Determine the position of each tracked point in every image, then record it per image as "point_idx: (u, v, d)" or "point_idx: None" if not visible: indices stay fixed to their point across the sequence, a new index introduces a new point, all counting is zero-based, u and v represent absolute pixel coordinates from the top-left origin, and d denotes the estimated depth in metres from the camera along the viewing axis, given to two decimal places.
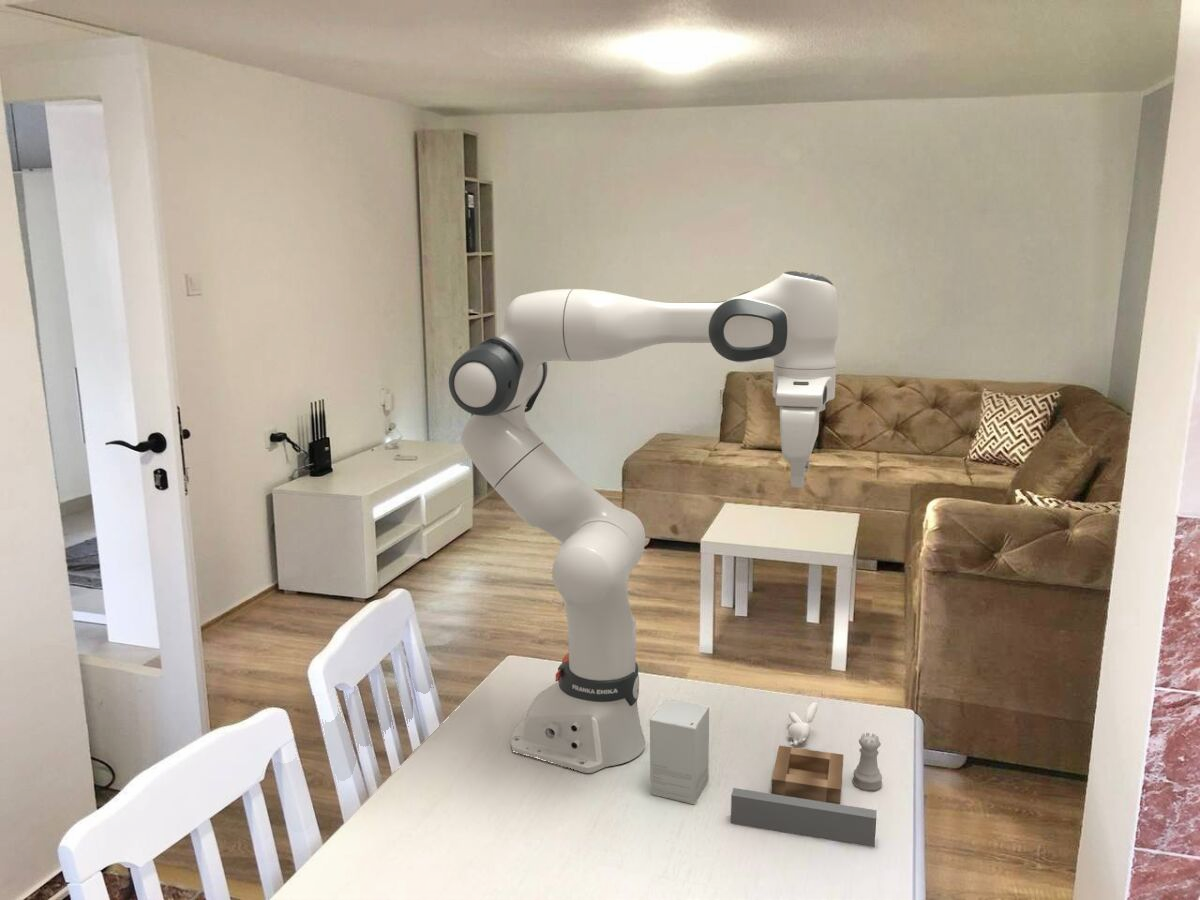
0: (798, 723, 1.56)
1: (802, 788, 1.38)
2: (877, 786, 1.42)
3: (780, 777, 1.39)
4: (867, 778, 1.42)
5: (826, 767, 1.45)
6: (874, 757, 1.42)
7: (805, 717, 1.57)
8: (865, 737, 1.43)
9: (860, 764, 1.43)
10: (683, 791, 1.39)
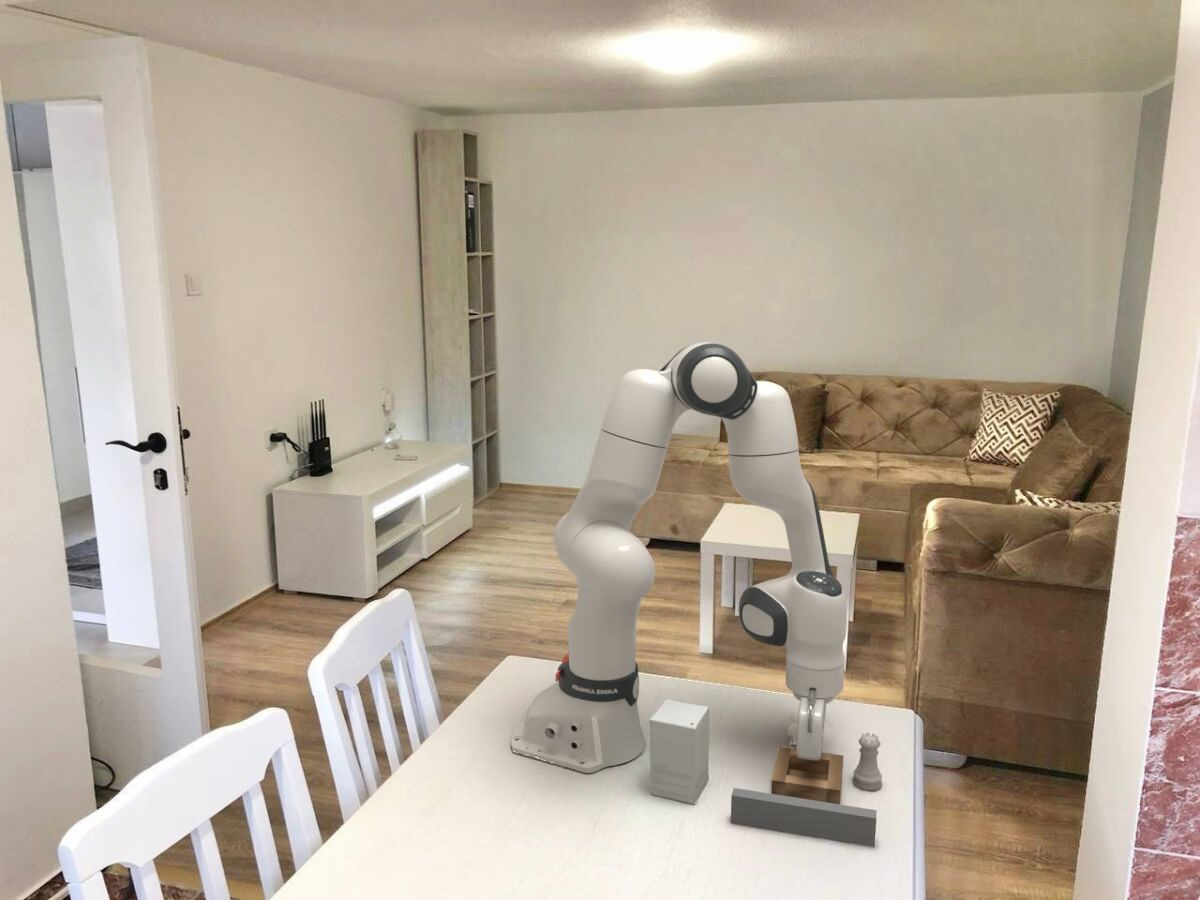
0: None
1: (802, 789, 1.37)
2: (877, 786, 1.42)
3: (780, 778, 1.39)
4: (867, 778, 1.42)
5: (826, 768, 1.44)
6: (874, 757, 1.42)
7: None
8: (865, 737, 1.43)
9: (860, 764, 1.43)
10: (683, 791, 1.39)
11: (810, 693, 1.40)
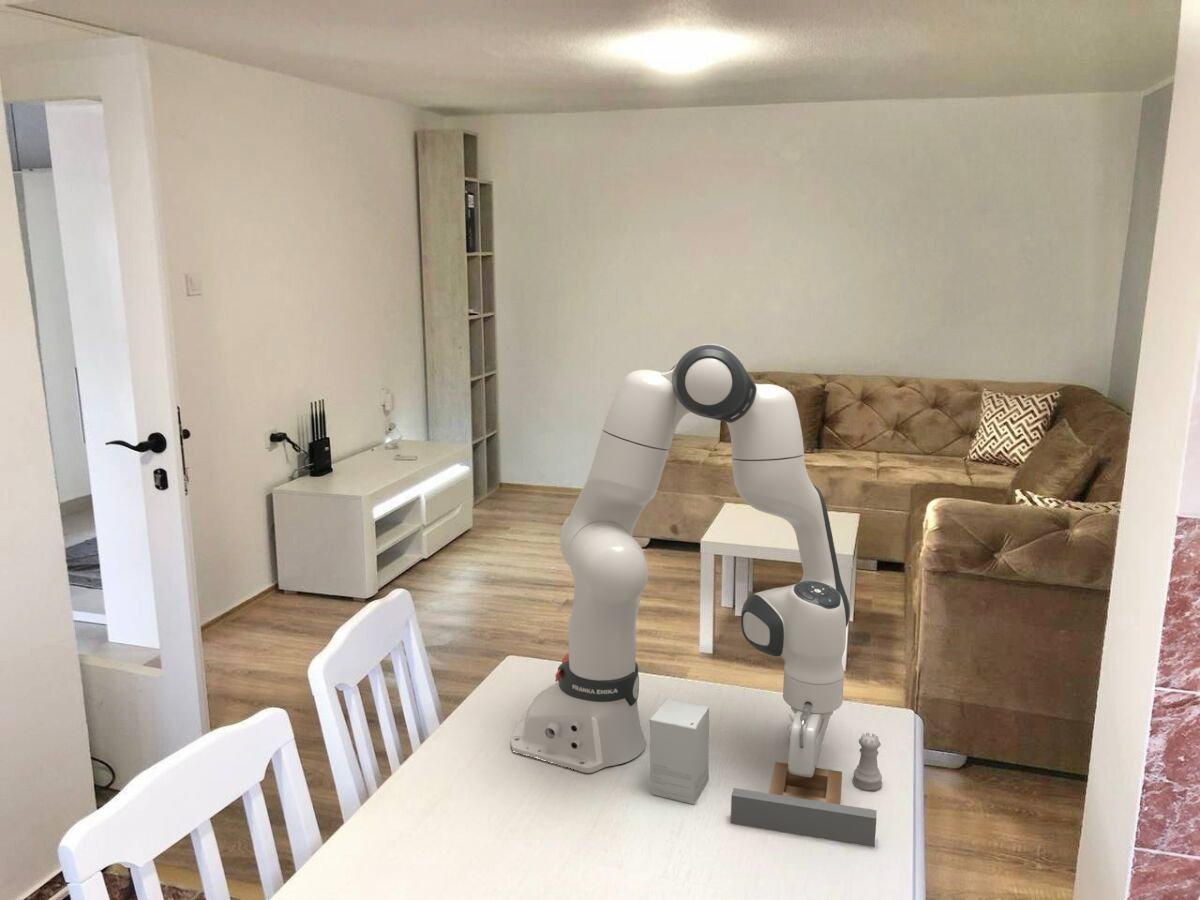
0: None
1: None
2: (877, 786, 1.42)
3: None
4: (867, 778, 1.42)
5: (824, 784, 1.40)
6: (874, 757, 1.42)
7: None
8: (865, 737, 1.43)
9: (860, 764, 1.43)
10: (683, 791, 1.39)
11: (804, 707, 1.35)
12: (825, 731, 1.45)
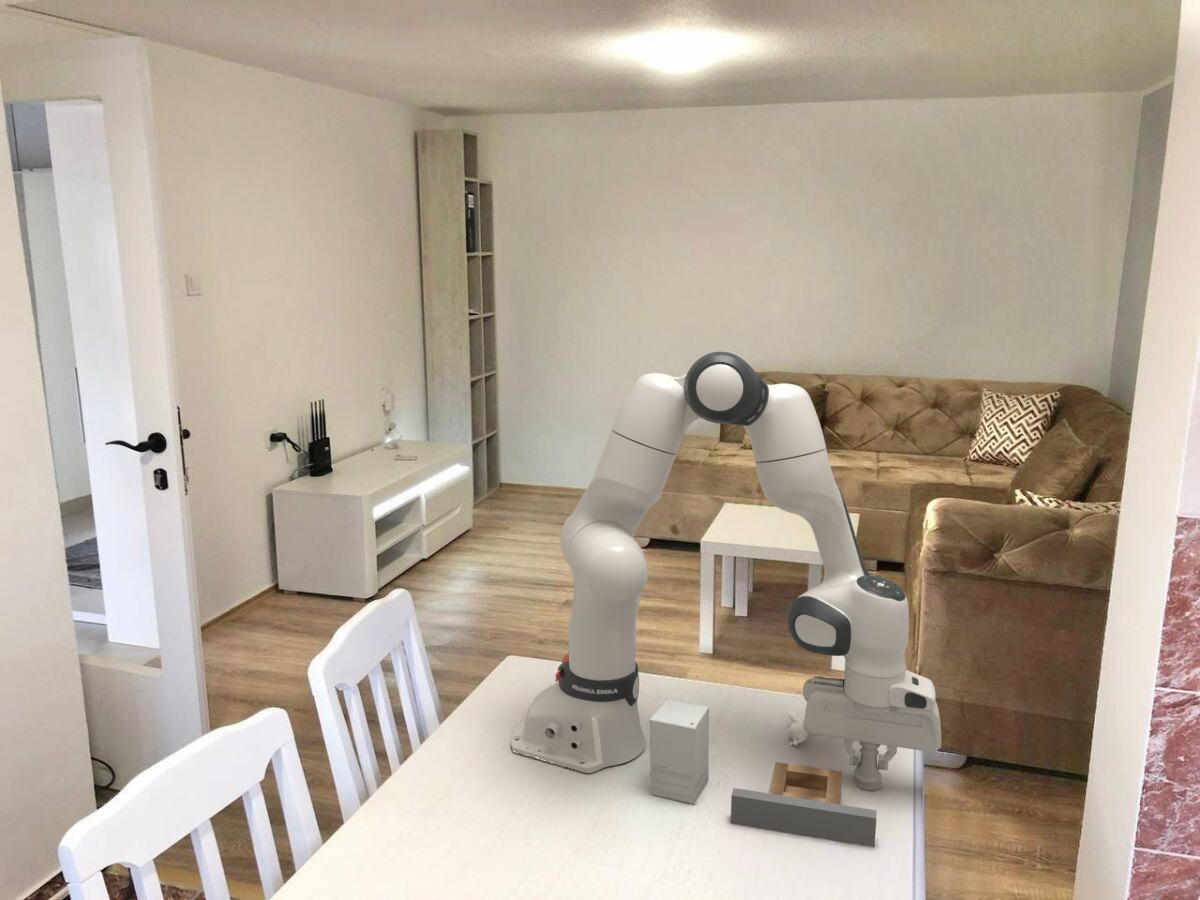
0: (798, 723, 1.56)
1: None
2: (877, 786, 1.42)
3: None
4: (867, 778, 1.42)
5: (824, 784, 1.40)
6: (874, 757, 1.42)
7: None
8: None
9: (860, 764, 1.43)
10: (683, 791, 1.39)
11: (833, 678, 1.43)
12: (891, 741, 1.40)
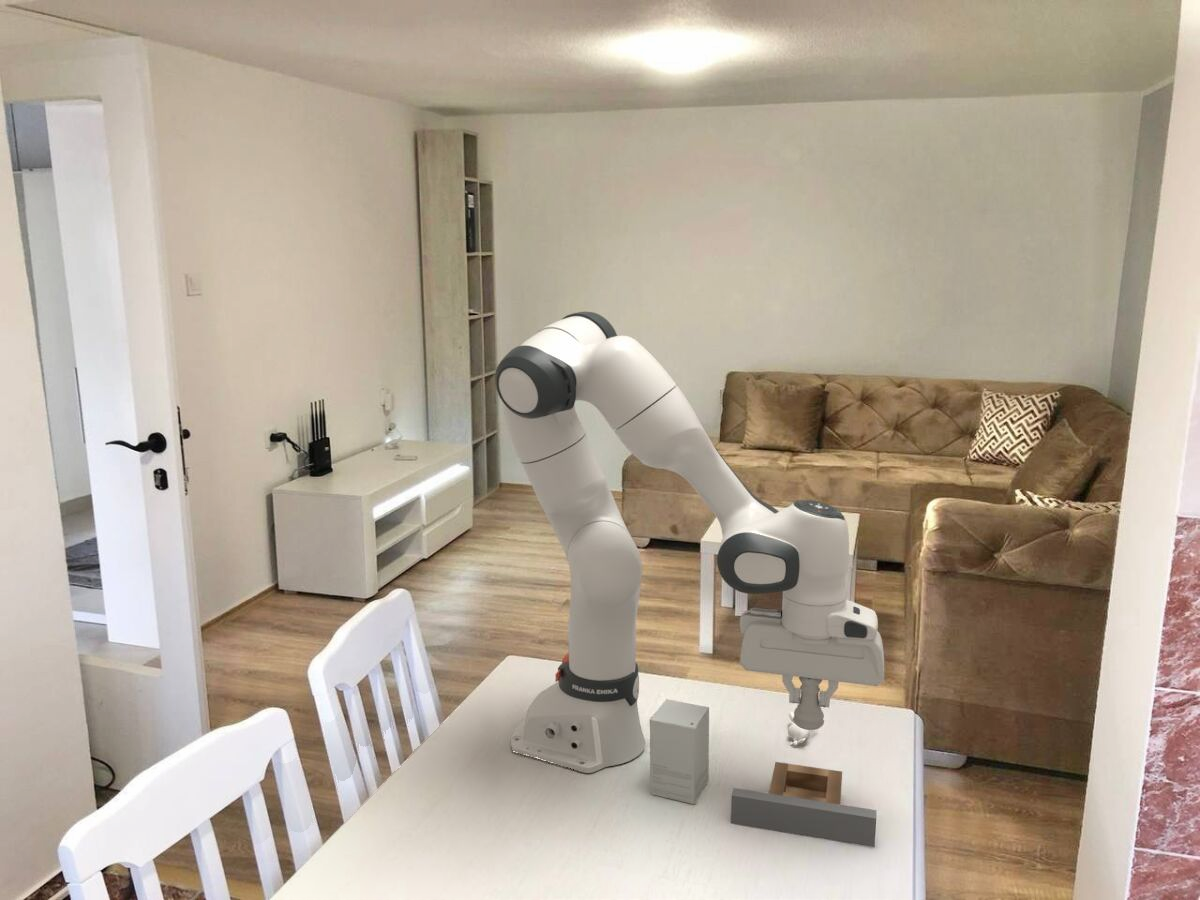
0: None
1: None
2: (818, 725, 1.34)
3: None
4: (807, 716, 1.34)
5: (824, 784, 1.40)
6: (815, 694, 1.33)
7: None
8: None
9: (800, 702, 1.35)
10: (683, 791, 1.39)
11: (770, 609, 1.34)
12: (831, 675, 1.31)
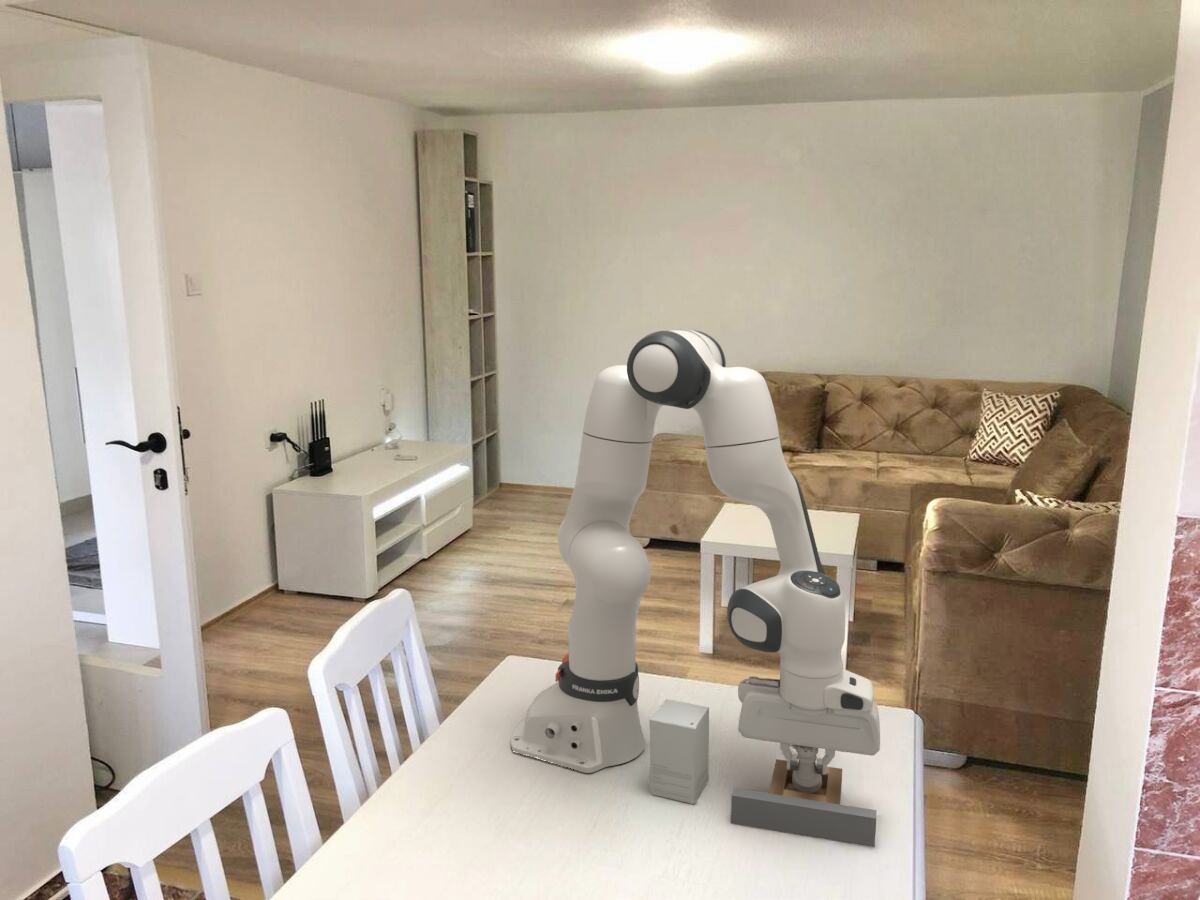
0: None
1: None
2: (816, 789, 1.37)
3: (777, 793, 1.35)
4: (805, 783, 1.37)
5: (824, 782, 1.41)
6: (812, 763, 1.36)
7: None
8: None
9: (798, 768, 1.37)
10: (683, 791, 1.39)
11: (768, 678, 1.36)
12: (828, 744, 1.34)
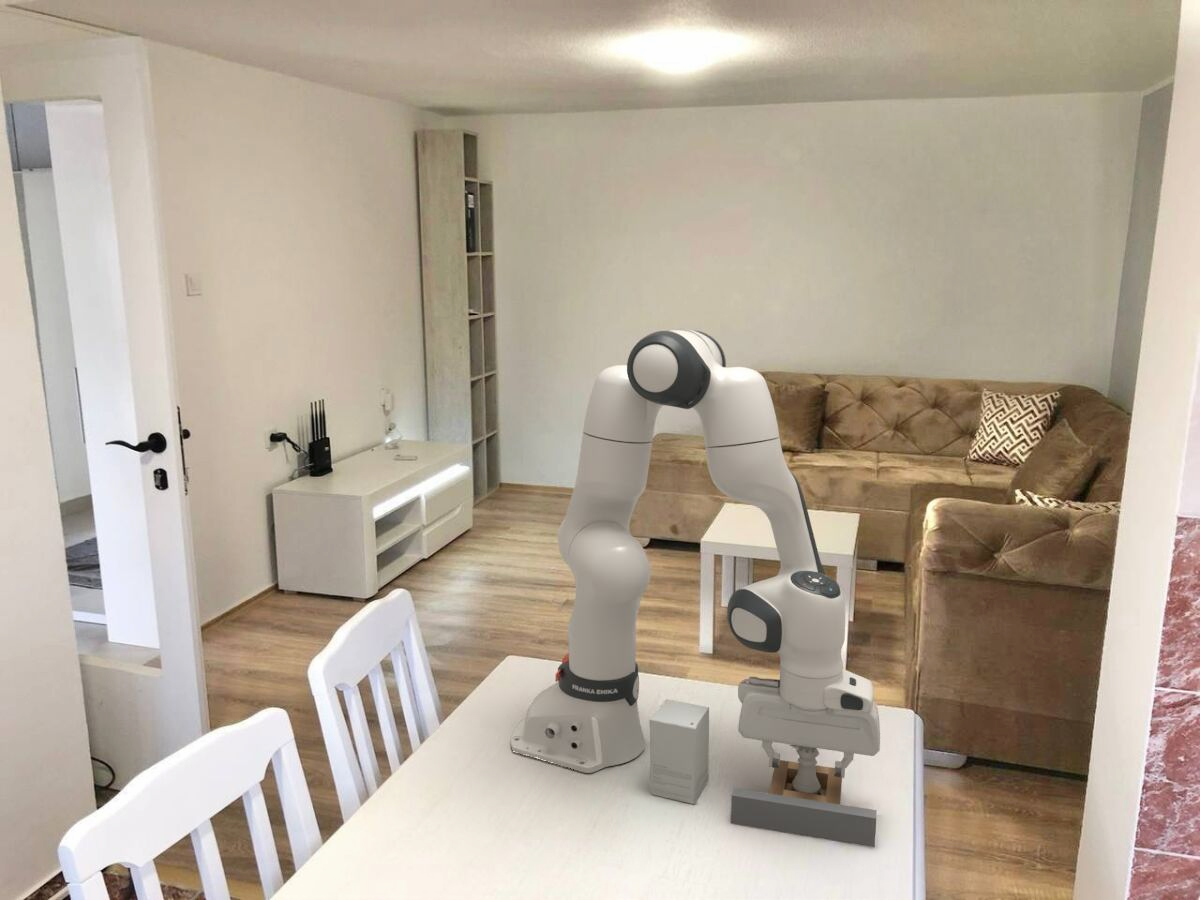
0: None
1: None
2: None
3: (777, 793, 1.35)
4: (805, 789, 1.37)
5: (824, 782, 1.40)
6: (812, 767, 1.37)
7: None
8: (803, 746, 1.38)
9: (798, 774, 1.38)
10: (683, 791, 1.39)
11: (767, 678, 1.36)
12: (828, 745, 1.33)
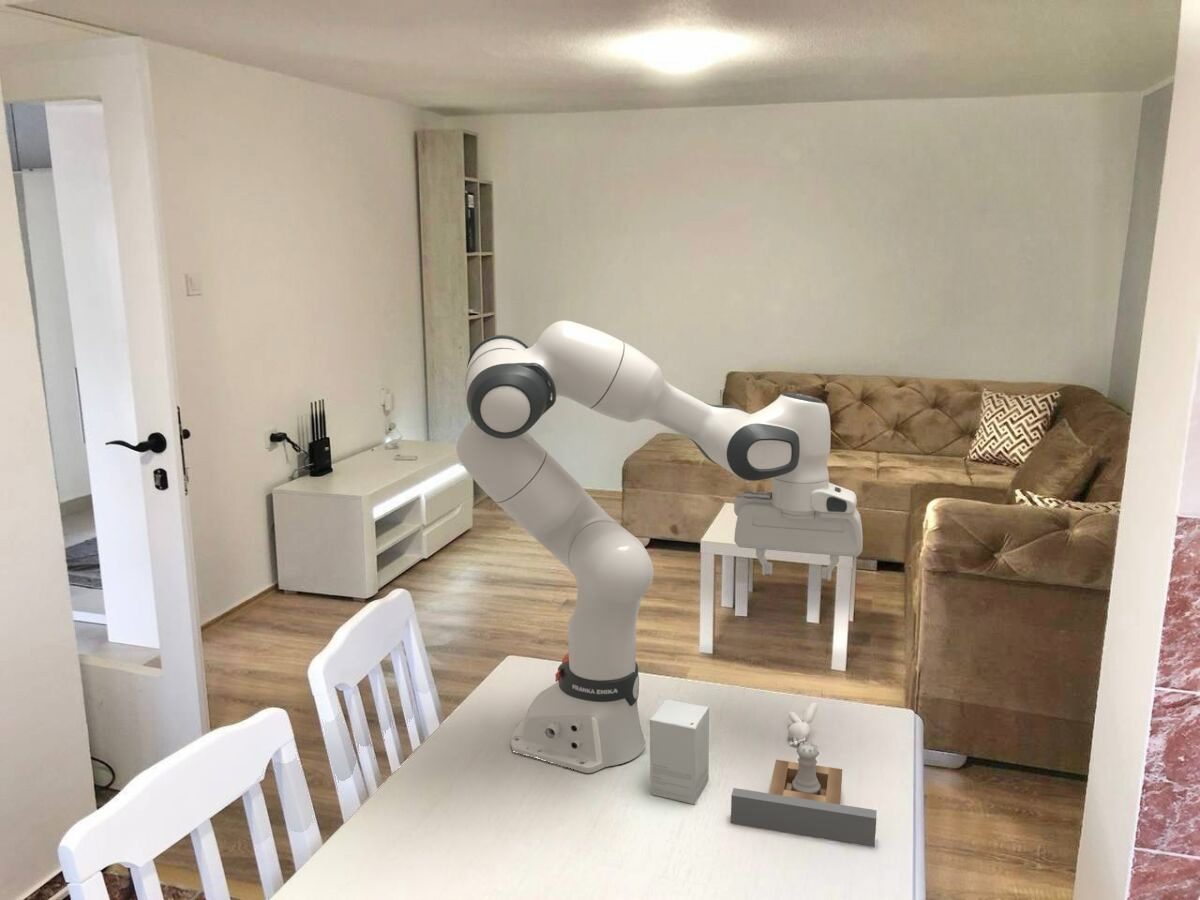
0: (798, 723, 1.56)
1: None
2: None
3: (777, 793, 1.35)
4: (805, 789, 1.37)
5: (824, 782, 1.40)
6: (812, 767, 1.37)
7: (805, 717, 1.57)
8: (803, 746, 1.38)
9: (798, 774, 1.38)
10: (683, 791, 1.39)
11: (761, 492, 1.50)
12: (815, 548, 1.47)
